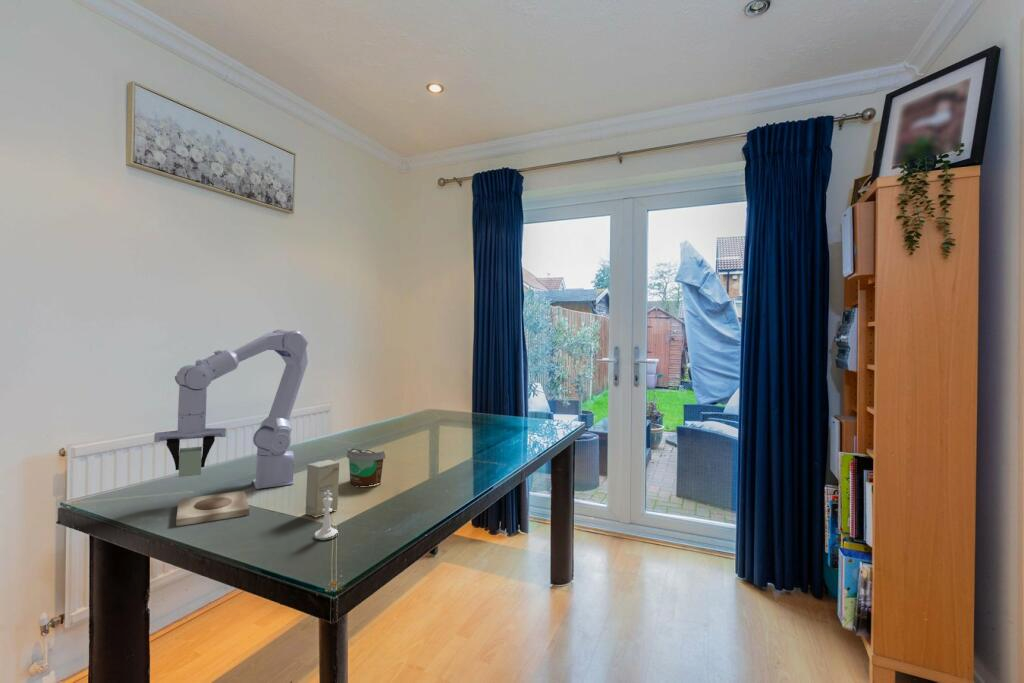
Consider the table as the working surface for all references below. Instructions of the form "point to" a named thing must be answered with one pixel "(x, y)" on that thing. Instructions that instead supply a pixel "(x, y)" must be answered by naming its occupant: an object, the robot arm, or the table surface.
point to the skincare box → (321, 486)
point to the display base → (211, 508)
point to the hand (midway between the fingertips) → (190, 467)
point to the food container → (365, 466)
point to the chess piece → (326, 519)
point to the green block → (190, 461)
